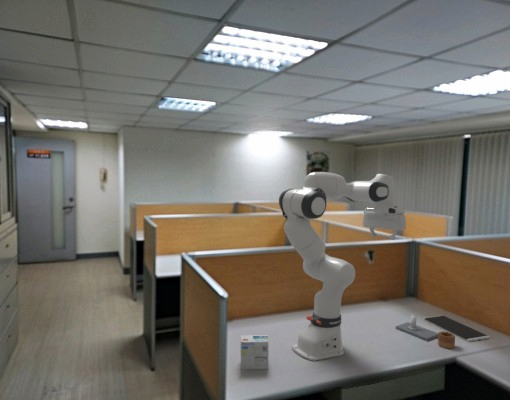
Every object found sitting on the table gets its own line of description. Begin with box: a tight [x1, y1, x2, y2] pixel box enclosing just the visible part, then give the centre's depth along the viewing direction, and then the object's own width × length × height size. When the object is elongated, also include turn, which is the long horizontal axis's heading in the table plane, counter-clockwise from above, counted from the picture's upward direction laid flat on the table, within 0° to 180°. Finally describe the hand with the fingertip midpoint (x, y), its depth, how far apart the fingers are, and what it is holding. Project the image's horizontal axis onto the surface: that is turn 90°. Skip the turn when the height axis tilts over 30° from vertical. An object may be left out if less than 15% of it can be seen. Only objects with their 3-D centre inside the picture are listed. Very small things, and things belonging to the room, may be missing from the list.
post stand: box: [395, 314, 438, 342], centre depth 168 cm, size 10×16×7 cm, turn 33°
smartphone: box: [423, 314, 491, 343], centre depth 173 cm, size 13×27×2 cm, turn 18°
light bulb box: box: [240, 334, 269, 370], centre depth 136 cm, size 11×7×11 cm, turn 92°
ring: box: [437, 331, 456, 350], centre depth 154 cm, size 6×6×5 cm
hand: (383, 238), depth 165 cm, fingers open, 8 cm apart
